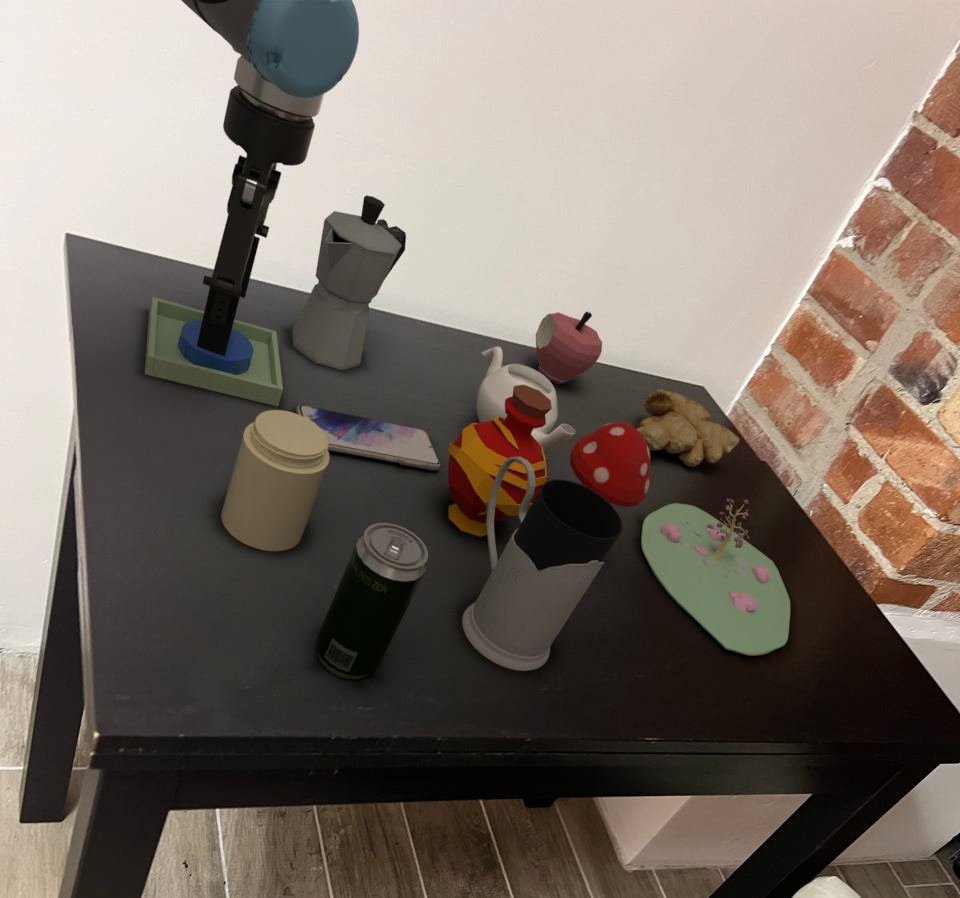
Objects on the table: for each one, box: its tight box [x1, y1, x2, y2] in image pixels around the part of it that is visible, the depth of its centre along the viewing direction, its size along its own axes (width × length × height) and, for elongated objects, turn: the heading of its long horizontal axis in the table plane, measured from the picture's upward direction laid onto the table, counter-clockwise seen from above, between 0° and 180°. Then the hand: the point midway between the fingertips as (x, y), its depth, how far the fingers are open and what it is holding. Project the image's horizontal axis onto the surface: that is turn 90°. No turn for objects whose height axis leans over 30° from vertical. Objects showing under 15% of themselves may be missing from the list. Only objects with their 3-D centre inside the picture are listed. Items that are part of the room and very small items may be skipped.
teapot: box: [475, 345, 576, 456], centre depth 105 cm, size 10×20×9 cm, turn 26°
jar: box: [220, 409, 331, 552], centre depth 77 cm, size 7×7×10 cm
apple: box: [535, 311, 603, 385], centre depth 125 cm, size 10×9×10 cm
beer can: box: [315, 522, 429, 680], centre depth 69 cm, size 5×5×12 cm
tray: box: [144, 296, 284, 407], centre depth 95 cm, size 13×12×2 cm
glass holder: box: [461, 457, 623, 672], centre depth 80 cm, size 9×14×15 cm, turn 32°
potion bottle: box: [447, 385, 552, 538], centre depth 89 cm, size 10×10×15 cm
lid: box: [178, 320, 254, 375], centre depth 95 cm, size 7×7×2 cm
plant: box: [640, 498, 791, 657], centre depth 103 cm, size 25×21×9 cm
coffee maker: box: [291, 194, 407, 371], centre depth 103 cm, size 15×9×18 cm, turn 147°
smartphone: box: [295, 404, 441, 472], centre depth 96 cm, size 7×1×15 cm
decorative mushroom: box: [569, 421, 651, 508], centre depth 93 cm, size 10×9×15 cm
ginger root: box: [636, 388, 741, 468], centre depth 126 cm, size 16×16×8 cm
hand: (222, 319), depth 93 cm, fingers open, 13 cm apart
